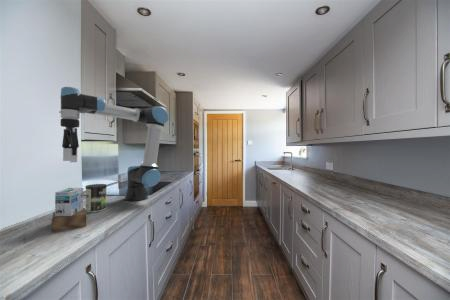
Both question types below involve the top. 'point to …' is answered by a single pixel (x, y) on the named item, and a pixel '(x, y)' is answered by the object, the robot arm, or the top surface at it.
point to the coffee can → (95, 197)
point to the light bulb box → (68, 201)
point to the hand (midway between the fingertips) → (69, 161)
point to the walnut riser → (69, 221)
